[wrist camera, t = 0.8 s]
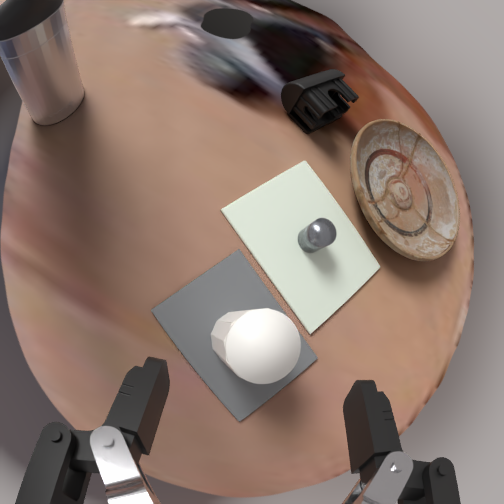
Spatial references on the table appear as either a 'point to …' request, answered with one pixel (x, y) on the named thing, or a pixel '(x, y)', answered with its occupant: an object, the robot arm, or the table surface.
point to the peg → (317, 235)
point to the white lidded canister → (257, 344)
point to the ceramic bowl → (404, 190)
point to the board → (289, 252)
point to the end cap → (317, 99)
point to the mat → (203, 321)
